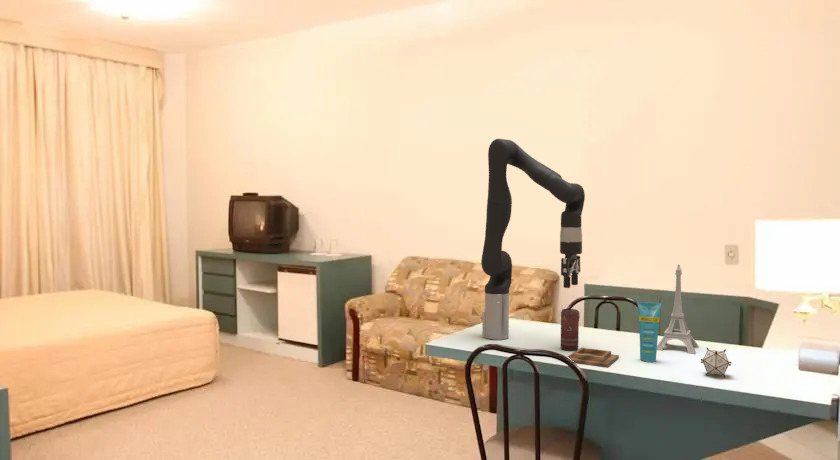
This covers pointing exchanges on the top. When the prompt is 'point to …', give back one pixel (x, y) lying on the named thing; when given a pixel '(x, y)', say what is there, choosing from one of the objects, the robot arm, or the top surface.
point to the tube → (648, 329)
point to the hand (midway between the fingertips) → (570, 286)
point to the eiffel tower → (678, 315)
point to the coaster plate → (593, 357)
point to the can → (569, 329)
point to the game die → (715, 362)
